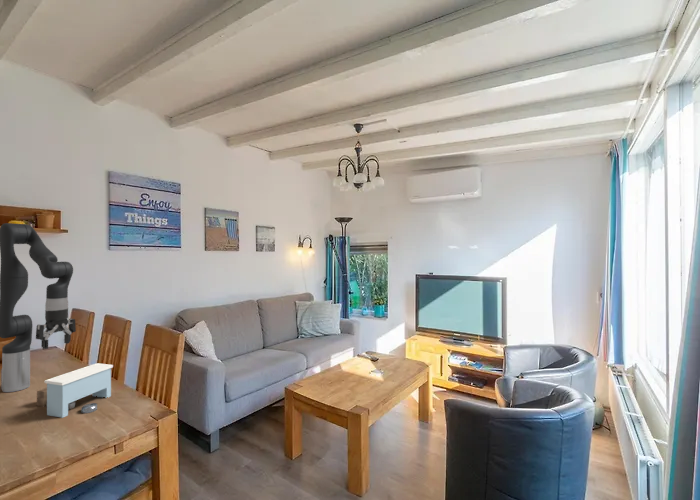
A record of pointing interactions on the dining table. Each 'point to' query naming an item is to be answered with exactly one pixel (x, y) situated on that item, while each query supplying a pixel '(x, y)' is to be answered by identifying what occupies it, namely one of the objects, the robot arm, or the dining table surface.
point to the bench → (77, 387)
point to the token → (89, 408)
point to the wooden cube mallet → (43, 398)
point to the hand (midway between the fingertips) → (56, 345)
